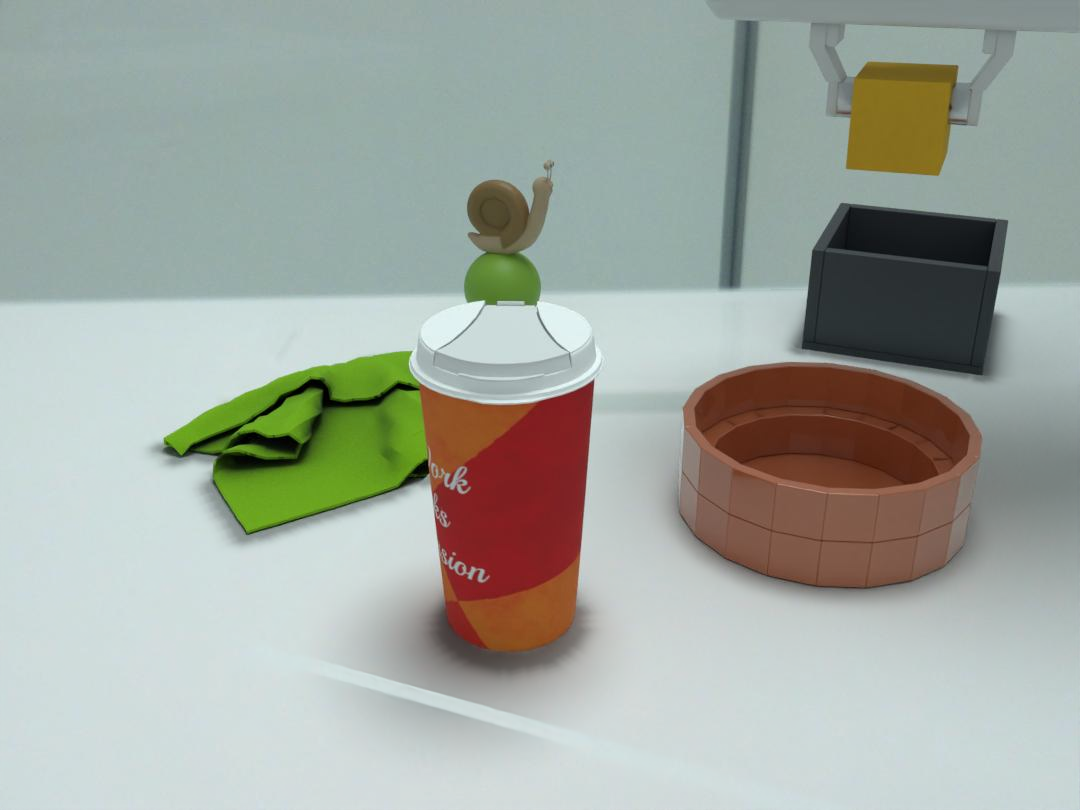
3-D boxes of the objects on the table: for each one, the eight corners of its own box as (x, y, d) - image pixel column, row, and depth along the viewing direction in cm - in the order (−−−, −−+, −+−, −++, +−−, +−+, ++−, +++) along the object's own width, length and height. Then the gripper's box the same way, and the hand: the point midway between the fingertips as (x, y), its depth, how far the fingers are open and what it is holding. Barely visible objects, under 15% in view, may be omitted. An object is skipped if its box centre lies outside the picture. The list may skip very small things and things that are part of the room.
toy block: (947, 153, 60) (958, 64, 58) (939, 176, 56) (951, 82, 54) (859, 147, 62) (867, 61, 60) (845, 169, 58) (853, 78, 56)
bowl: (972, 478, 62) (989, 386, 60) (951, 627, 51) (971, 520, 48) (716, 432, 67) (722, 346, 65) (642, 559, 56) (647, 459, 53)
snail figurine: (540, 343, 79) (540, 171, 74) (453, 332, 81) (447, 163, 76) (563, 315, 84) (564, 151, 79) (480, 305, 86) (476, 144, 80)
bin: (991, 314, 84) (1008, 219, 81) (981, 376, 74) (1001, 271, 71) (830, 293, 88) (840, 202, 85) (801, 349, 78) (812, 249, 75)
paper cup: (435, 570, 55) (421, 292, 49) (597, 573, 54) (603, 294, 48) (412, 677, 48) (392, 369, 42) (598, 681, 47) (605, 372, 41)
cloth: (530, 359, 77) (530, 325, 76) (513, 537, 57) (512, 495, 56) (226, 356, 77) (222, 322, 76) (106, 531, 58) (98, 490, 57)
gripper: (1190, -196, 51) (1125, 119, 57) (733, -186, 58) (719, 94, 64) (1206, -198, 46) (1132, 149, 52) (701, -186, 53) (689, 119, 59)
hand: (900, 119), depth 58 cm, fingers closed on toy block, 4 cm apart
